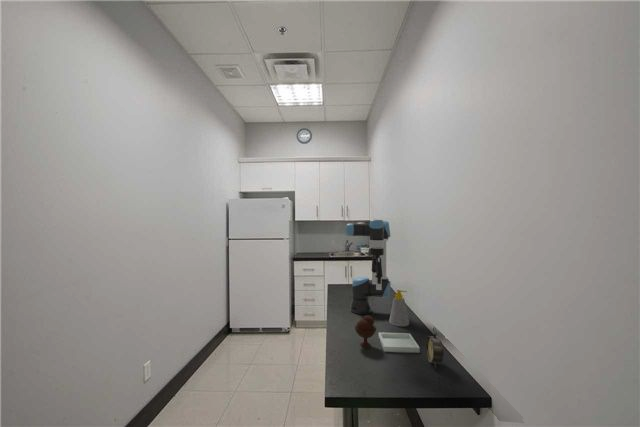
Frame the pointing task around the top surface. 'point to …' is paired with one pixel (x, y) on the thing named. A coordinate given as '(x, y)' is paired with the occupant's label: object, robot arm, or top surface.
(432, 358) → the alarm clock
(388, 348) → the tray
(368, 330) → the ice cream bowl
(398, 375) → the top surface
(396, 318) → the soap bottle
